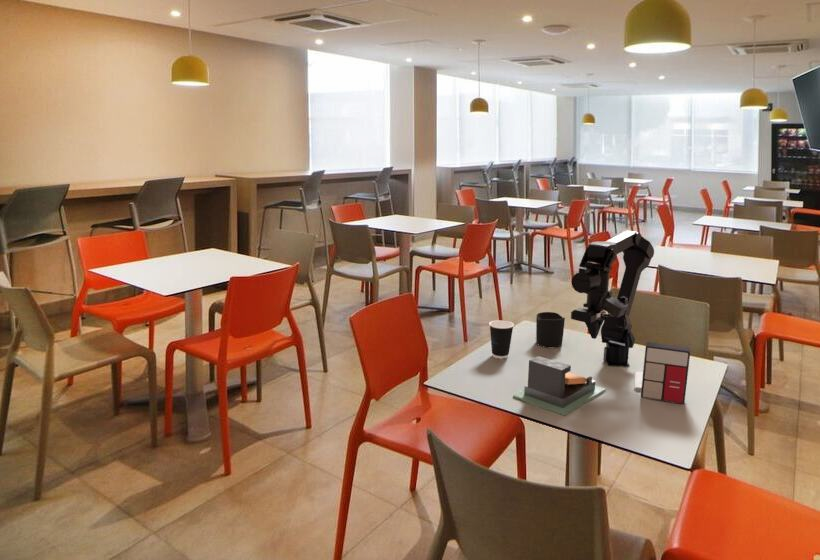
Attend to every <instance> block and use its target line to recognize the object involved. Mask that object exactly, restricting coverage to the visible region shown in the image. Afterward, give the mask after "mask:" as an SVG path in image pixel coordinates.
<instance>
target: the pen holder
mask: <svg viewBox="0 0 820 560" xmlns="http://www.w3.org/2000/svg"><path fill="white" fill-rule="evenodd" d="M535 321H536V323H535V324H536V328H535V329H536V330H535V331H536V333H535V339H536V340H535V341H536V344H537V345H538V344H539V345H538V346H540V345H541V346H540V347H543V346H544V347H543V348H548V347H555V348H560V347H561V346H562V344H563V340H564V339H563V337H564V329H565V323H566V322H565V321H566V317H564V316H561V314H559V313H557V312H553V311H544V312H538V313H537V314H536V320H535Z"/></svg>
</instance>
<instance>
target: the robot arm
mask: <svg viewBox="0 0 820 560" xmlns="http://www.w3.org/2000/svg"><path fill="white" fill-rule="evenodd" d="M621 253H623V255H622V256H623V257H622V259H623V262H624V266H625V268H624V272H623V275H622V280H621V284H620V287H619V289H618V290H619V291H618V293H617V297H613V296H612V293H613V292H612V290H611V289H609V284H610V271H611V270H613V265H612V264H613V263H614V262H615V261H616V260H617V255H618V254H621ZM654 254H655V249H654V246H653V244H652V243H651V241H649V240H648V239H646V238H645V237H643V236H642V234H641V232H638V231H633V230H627V229H626V230H623V231H621V233H619V234H617V235H615V236H613V237H612V238H609V239H607V240H606V241H592V242H590V243H588V245H587V247H586V249H585V251H584V254H583V255H582V258H581V261H580V263H579V269H578V272H576V273H575V274H574V275H573V276H572V278H571V286H572V288H573V290H574V291H575V292H576V293H578V294H585V295H586V302H584V303H583V304H582V305H583V307H578V308H574V309H573V310H572V311H570V319H571V320H573V321H577V322H581V323H585V325H586V327H587V330H588V333H589V335H590V337H591V339H594V340H595V339H597V338H598V335H599V332H600V335H601V336H600V337H601V338H600V339H601V343H603V344H606V345H605V346H604V348H603V360H604V361H605V363H606V364H607V365H608V366H610V367H629V366H630V363H629V353H630V352H629V350H630V349H632V348H634V345H635V341H636V338H635V335H634V334H633V331H632V327H633V326H632V325H633V324H632V321H631V318H630V313H631V310H632V306H633V305H634V304H633V303H634V299H635V296H636V292H637V289H638V286H639V282H640V281H639V280H640V278H641V275H642V272H643V271H644V270H645V269H647V267H649V265H650V263H651V261H652V258H653V257H654ZM607 313H609V314H607Z"/></svg>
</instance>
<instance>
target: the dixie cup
mask: <svg viewBox="0 0 820 560" xmlns="http://www.w3.org/2000/svg"><path fill="white" fill-rule="evenodd" d="M488 325H489V332H490V343H491V354H492V357H493V358H494V357H495V358H494V359H497V358H499V360H504V359H503V358H505V359H507V358H509V354H510V348H511V342H512V338H513V337H512V335H513V329H514V327H515V324H514V322H512V321H510V320H509V321H508V320H498V319H497V320H492V321H489V323H488Z"/></svg>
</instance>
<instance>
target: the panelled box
mask: <svg viewBox="0 0 820 560" xmlns="http://www.w3.org/2000/svg"><path fill="white" fill-rule="evenodd" d="M690 357H691V348H690V347H689V346H683V345H673V344H665V343H656V342H646V344H645V352H644V361H643V371H642V372H643V379H642V389H641V391H640V397H641V398H643V399H649V400H654V399H655V400H656V401H661V402H667V401H668V402H667V403H673V402H674V403H673V404H679V403H681V404H680V405H684V404H685V402H686V400H685V399H686V391H687V382H688V377H689V376H688V375H689V374H688V373H689V367H690Z"/></svg>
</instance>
